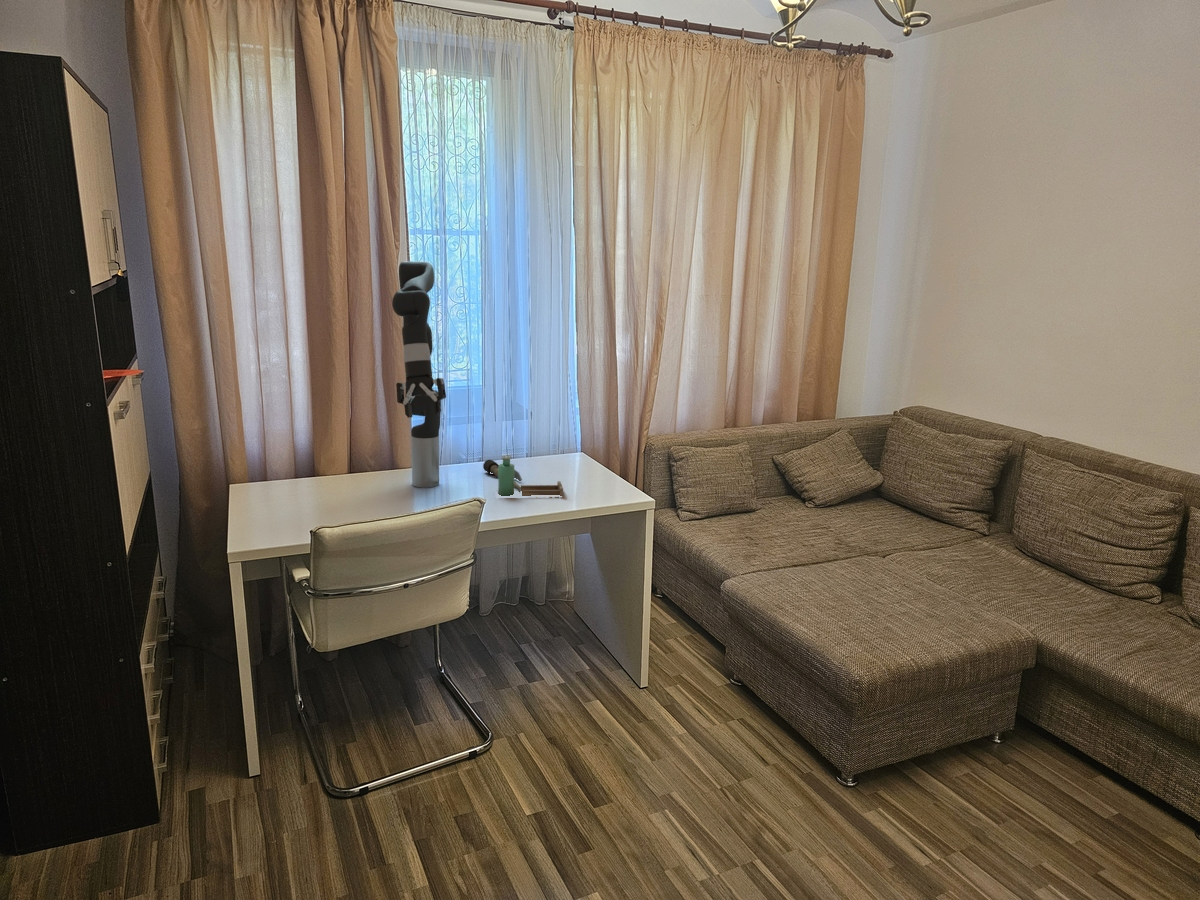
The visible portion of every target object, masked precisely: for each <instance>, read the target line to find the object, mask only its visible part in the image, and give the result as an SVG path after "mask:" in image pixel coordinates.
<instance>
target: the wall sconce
mask: <svg viewBox="0 0 1200 900" xmlns="http://www.w3.org/2000/svg"><path fill="white" fill-rule="evenodd" d="M499 465H500V464H498V462H496V461H495V460H492V459H487V460H485V461H484V463H483V464H482V467H483V469H484V471H485V472H486V471H487V472H489V473H490V472H491V473H493V474H495V475H494V476H496V477H498V466H499ZM487 472H486V473H487ZM489 473H488V474H489ZM514 478H516V479H518V480H519V481H521V482H522V481H523V478H522V476H521V474H520V471H517V470H516V469H515V468H514ZM514 488H516V489H518V490H521V485H519V484H518V483H517V481H516V480H514Z"/></svg>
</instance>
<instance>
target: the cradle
mask: <svg viewBox="0 0 1200 900" xmlns="http://www.w3.org/2000/svg"><path fill="white" fill-rule="evenodd" d="M520 487H521V489H520V491H522V496H531V495H560V496H563V497H564V487H563V484H562V482H561V481H557V484H549V485H548V484H544V485H543V484H535V485H534V484H533V485H531V484H530V485H529V484H528V485H527V484H525V485H524V484H523V485H520Z"/></svg>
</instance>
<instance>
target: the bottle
mask: <svg viewBox="0 0 1200 900" xmlns="http://www.w3.org/2000/svg"><path fill="white" fill-rule="evenodd" d="M501 458H502V463H500V464H498V465H499V466H498V476H497V477H498V479H497V480H498V486H497V487H498V488H497V489H498V490H497V491H498V494H499V495H501V496H510V495H513V494H514V491H515V486H514V481H515V480H514V469H515V464H513V463H511V460H512V459H511V455H503V456H502V457H501Z"/></svg>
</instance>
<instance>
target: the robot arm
mask: <svg viewBox="0 0 1200 900" xmlns="http://www.w3.org/2000/svg"><path fill="white" fill-rule="evenodd" d="M398 281H399V290H397V291H396V292H395V293H394V295H393V297H392V300H391V301H392V302H391V303H392V304H391V305H392V309H393V311H394V313H395V314H396V315H397V316H399V317H402V322H403V323H402V328H401V335H402V342H403V345H402V346H403V363H404V372H405V382H397V383H396V402H397V403H398V404H402V405H403V406H404V414H405V416H406V417H407V418H408V419H409V418H410V419H411V418H413V416H419V417H424V421H423V423H420V424H418V425H415V426H412V428H410V429H411V430H410V435H411V437H410V438H411V443H410V444H411V484H412V486H413V487H417V488H431V487H432V488H433V487H437V486H439V485H440V428H441V412H442V400H444V399H446V398H447V394H446V392H447V391H446V388H445V382H444V381H445V380H444V378H442V377H437V378H435V379H434V377H433V367H432V360H431V355H432V353H433V332H432V328H431V326H430V324H429V323H428V317H429V311H430V308H431V307H430V306H431V299H430V296H429V294H428V293H429V292H430V291H431V290H432V289H433V287H434V286H435V285H434V284H435V271H434V267H433V265H432V263H430V262H429V261H424V260H423V261H422V260H421V261H419V260H418V261H416V260H415V261H413V260H412V261H409V260H408V261H405V260H404V261H401V262H400V263H399V266H398ZM434 384H435V386H436V387H437V390H435V389H434V388H433V387H434Z"/></svg>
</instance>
